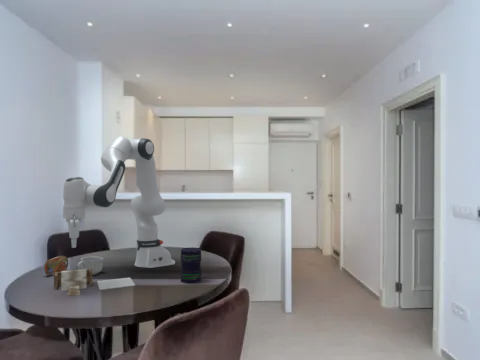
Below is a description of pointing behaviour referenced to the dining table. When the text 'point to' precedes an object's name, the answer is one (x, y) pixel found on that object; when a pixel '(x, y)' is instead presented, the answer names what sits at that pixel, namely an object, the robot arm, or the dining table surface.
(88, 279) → the frame
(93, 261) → the teacup
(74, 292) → the offcut mid
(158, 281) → the dining table surface
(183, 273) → the storage jar
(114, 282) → the mat
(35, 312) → the dining table surface
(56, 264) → the tin
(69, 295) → the offcut low
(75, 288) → the offcut top
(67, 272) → the cream rectangular block
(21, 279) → the dining table surface
